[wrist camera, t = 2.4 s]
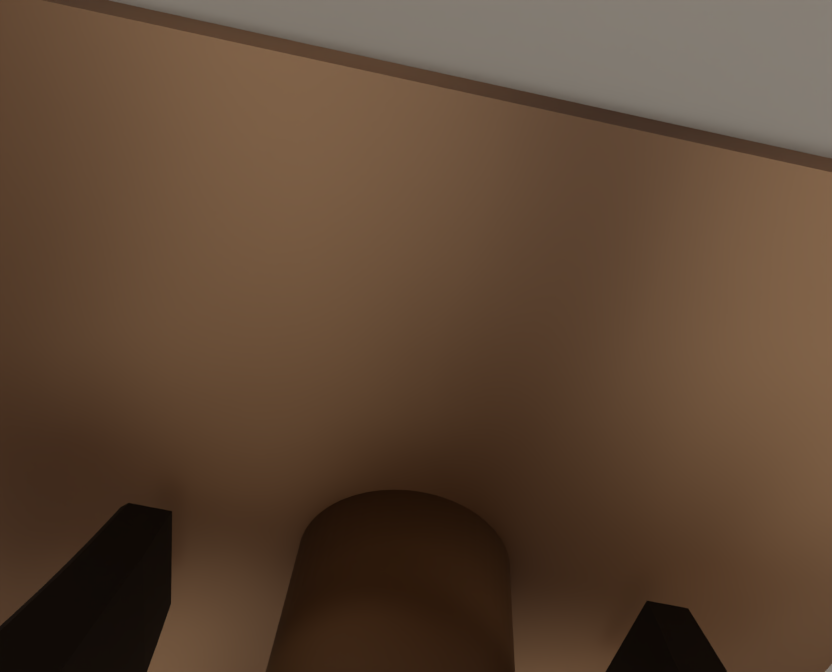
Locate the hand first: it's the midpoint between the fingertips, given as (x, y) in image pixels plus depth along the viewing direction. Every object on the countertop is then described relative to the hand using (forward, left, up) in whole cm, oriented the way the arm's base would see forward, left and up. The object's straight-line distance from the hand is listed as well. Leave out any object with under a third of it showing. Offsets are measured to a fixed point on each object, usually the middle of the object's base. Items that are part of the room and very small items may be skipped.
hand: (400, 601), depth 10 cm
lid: (0, 0, -1) cm, 1 cm away
